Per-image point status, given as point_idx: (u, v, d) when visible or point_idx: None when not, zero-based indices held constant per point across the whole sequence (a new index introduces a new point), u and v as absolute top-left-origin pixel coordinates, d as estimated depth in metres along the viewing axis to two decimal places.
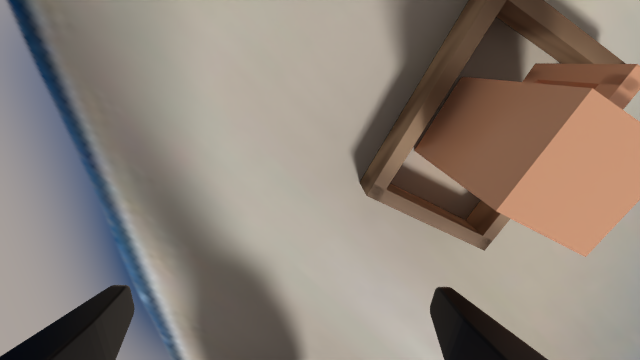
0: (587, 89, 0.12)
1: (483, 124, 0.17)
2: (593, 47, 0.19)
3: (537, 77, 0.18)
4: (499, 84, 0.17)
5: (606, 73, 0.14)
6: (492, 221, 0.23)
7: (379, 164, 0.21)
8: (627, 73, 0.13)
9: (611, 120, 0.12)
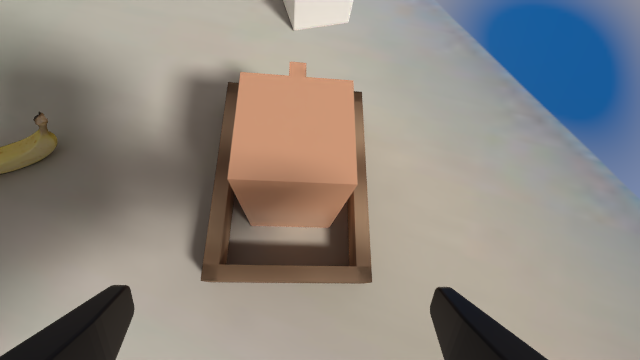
0: None
1: None
2: None
3: None
4: None
5: None
6: (355, 246, 0.21)
7: None
8: (290, 68, 0.18)
9: (273, 82, 0.16)
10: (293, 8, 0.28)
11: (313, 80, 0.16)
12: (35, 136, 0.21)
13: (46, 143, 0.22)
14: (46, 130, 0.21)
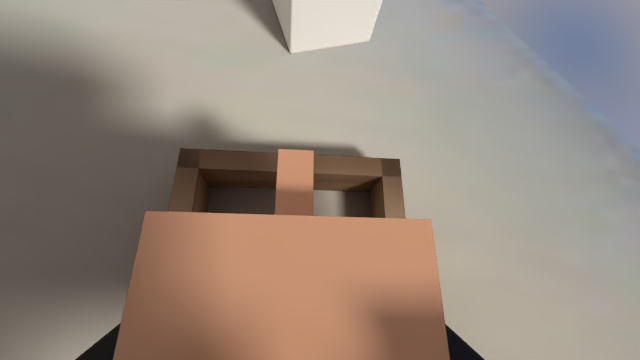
0: (147, 216, 0.06)
1: None
2: (336, 162, 0.15)
3: None
4: None
5: None
6: None
7: None
8: (278, 164, 0.08)
9: (231, 239, 0.06)
10: (289, 22, 0.18)
11: (334, 225, 0.06)
12: None
13: None
14: None
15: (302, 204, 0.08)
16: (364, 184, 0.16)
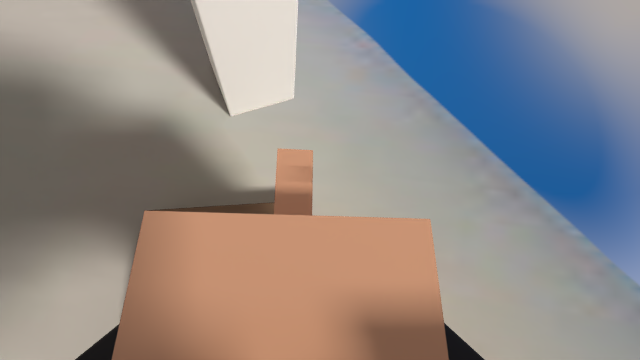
0: (146, 215, 0.06)
1: None
2: (262, 207, 0.21)
3: None
4: None
5: None
6: None
7: None
8: (278, 164, 0.08)
9: (230, 239, 0.06)
10: (224, 98, 0.24)
11: (333, 224, 0.06)
12: None
13: None
14: None
15: (301, 204, 0.08)
16: None
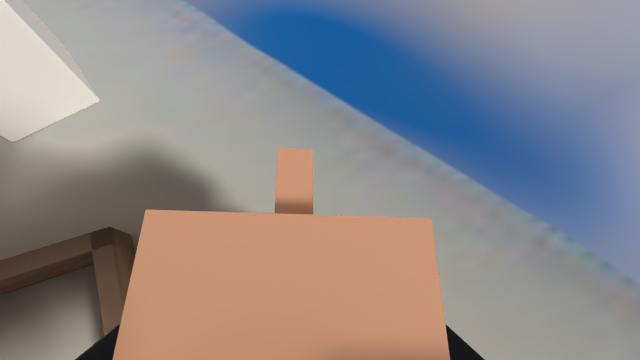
0: (147, 214, 0.06)
1: None
2: (41, 254, 0.16)
3: None
4: None
5: None
6: None
7: None
8: (278, 163, 0.08)
9: (231, 238, 0.06)
10: None
11: (334, 223, 0.06)
12: None
13: None
14: None
15: (302, 203, 0.08)
16: None
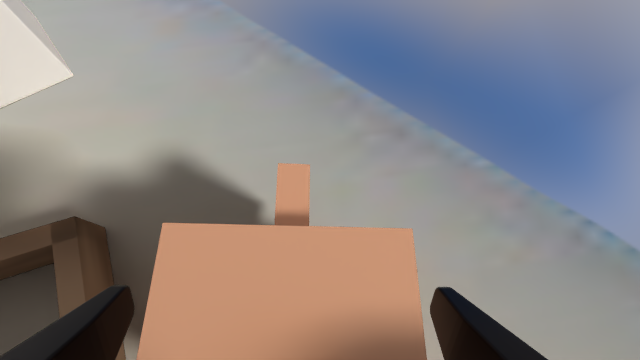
0: (164, 227, 0.07)
1: None
2: None
3: None
4: None
5: None
6: None
7: None
8: None
9: (237, 247, 0.07)
10: None
11: (327, 234, 0.07)
12: None
13: None
14: None
15: (299, 214, 0.09)
16: None
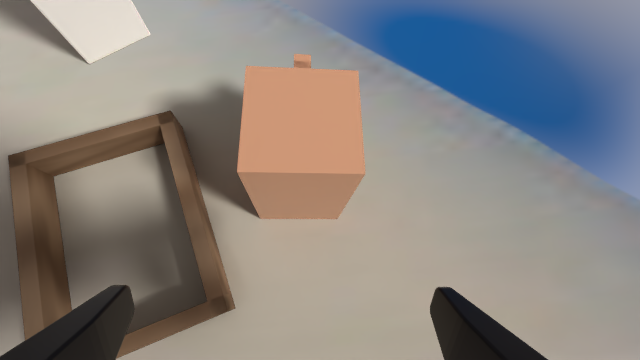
0: (246, 69, 0.16)
1: None
2: (125, 127, 0.22)
3: None
4: None
5: None
6: (202, 280, 0.19)
7: None
8: (294, 61, 0.18)
9: (278, 75, 0.16)
10: (69, 42, 0.24)
11: (318, 71, 0.16)
12: None
13: None
14: None
15: None
16: (159, 135, 0.23)
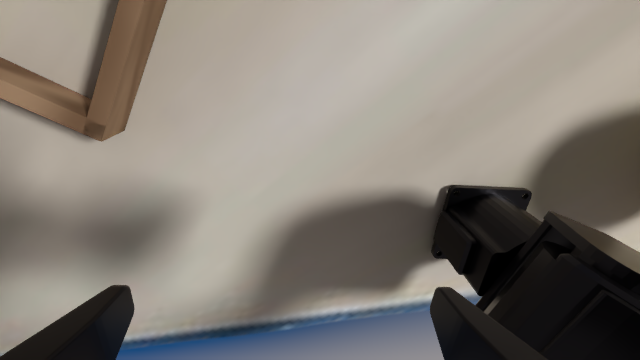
0: None
1: None
2: None
3: None
4: None
5: None
6: None
7: None
8: None
9: None
10: None
11: None
12: None
13: None
14: None
15: None
16: None
